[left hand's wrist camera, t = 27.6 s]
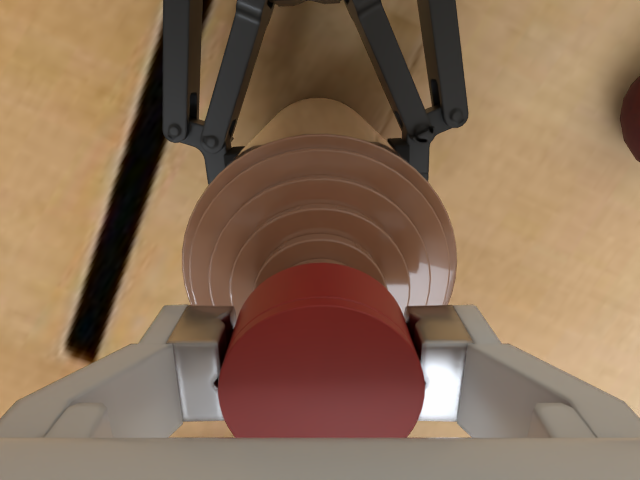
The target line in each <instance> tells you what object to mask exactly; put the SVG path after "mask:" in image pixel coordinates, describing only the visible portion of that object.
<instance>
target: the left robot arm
mask: <svg viewBox="0 0 640 480" xmlns="http://www.w3.org/2000/svg"><path fill="white" fill-rule="evenodd" d="M404 319H405V321H406V324H407V327H408V330H409V333H410V335H411V338H412V341H413V344H414V347H415V349H416V352H417V355H418V358H419V361H420V363H421V367H422V370H423V374H424V381H425V398H424V403H423V407H422V411H421V413H420V416H419V419H418V421H454V422H457V424H458V425H459V426H460V427H461V428H462V429H464V430H465V431H466V432H467V433H468V434H469V435H470V436H471V437H472V438H168V437H169V436H170V435H171V434H172V433H174V432H175V431H176V430H177V429H178V428H179V427H180V426H181V425H182V424H183V422H186V421H221V420H224V418H223V415H222V412H221V409H220V405H219V399H218V380H219V374H220V370H221V367H222V364H223V361H224V358H225V355H226V352H227V348H228V345H229V342H230V339H231V336H232V333H233V330H234V327H235V324H236V321H237V319H236V310H235V308H234V306H213V305H165V306H163V308H162V309H161V311H160V312H159V314H158V315H157V317H156V318H155V319H154V321H153V322H152V324H151V325H150V327H149V328H148V330H147V331H146V333H145V334H144V336H143V337H142V339H141V340H140V342H139V343H138V344H130V345H128V346H126V347H124V348H122V349H120V350H118V351H116V352H114V353H112V354H110V355H108V356H106V357H104V358H102V359H100V360H98V361H96V362H94V363H92V364H90V365H88V366H86V367H84V368H82V369H80V370H78V371H76V372H74V373H72V374H70V375H68V376H66V377H64V378H62V379H60V380H58V381H56V382H54V383H52V384H50V385H48V386H46V387H44V388H42V389H40V390H38V391H36V392H34V393H32V394H30V395H28V396H26V397H24V398H22V399H20V400H18V401H16V402H15V403H14V404H13V405H12V406H11V408H10V409H9V410H8V411H7V412H6V413H5V414H4V415H3V416H2V417H1V418H0V480H640V418H639V417H638V416H637V415H636V414H635V413H634V412H633V410H632V409H631V408H630V407H629V406H628V405H627V404H626V403H625V402H624V401H622V400H620V399H618V398H616V397H614V396H612V395H610V394H608V393H606V392H604V391H602V390H600V389H598V388H596V387H594V386H592V385H590V384H588V383H586V382H584V381H582V380H580V379H578V378H576V377H574V376H572V375H570V374H568V373H566V372H564V371H562V370H560V369H558V368H556V367H554V366H552V365H550V364H548V363H546V362H544V361H542V360H540V359H538V358H536V357H534V356H532V355H530V354H528V353H526V352H524V351H522V350H520V349H518V348H516V347H514V346H512V345H510V344H502V343H501V342H500V340H499V339H498V337H497V336H496V334H495V333H494V331H493V330H492V329H491V327H490V326H489V324H488V323H487V321H486V320H485V318H484V317H483V315H482V314H481V313H480V311H479V310H478V308H477V307H476V306H475V305H473V304H472V305H429V306H407V307H405V311H404Z"/></svg>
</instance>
